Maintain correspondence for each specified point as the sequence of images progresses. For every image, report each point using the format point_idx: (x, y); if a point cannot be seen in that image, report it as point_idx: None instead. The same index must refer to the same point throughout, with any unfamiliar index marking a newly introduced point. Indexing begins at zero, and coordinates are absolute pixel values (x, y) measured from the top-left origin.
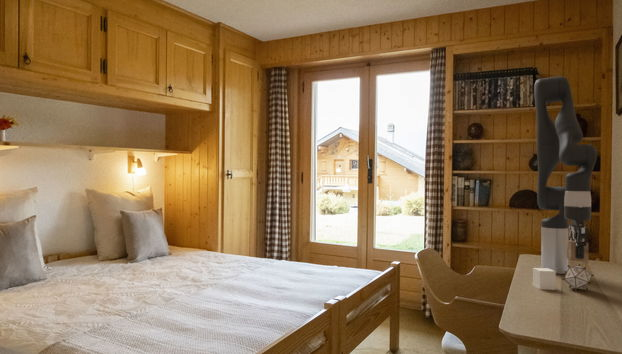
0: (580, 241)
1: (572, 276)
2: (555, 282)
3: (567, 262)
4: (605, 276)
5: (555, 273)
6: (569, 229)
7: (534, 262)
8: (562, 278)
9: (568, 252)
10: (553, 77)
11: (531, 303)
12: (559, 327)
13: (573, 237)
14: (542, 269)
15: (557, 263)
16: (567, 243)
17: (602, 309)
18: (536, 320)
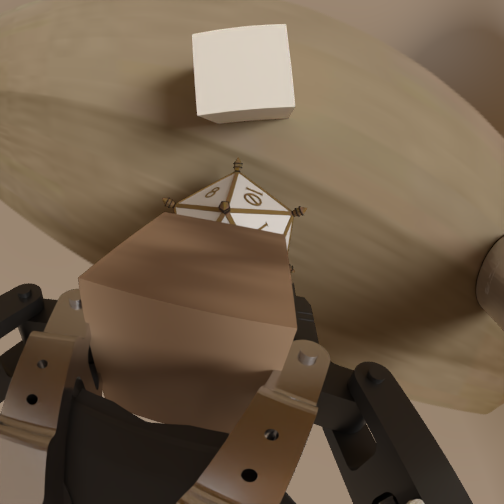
0: (177, 401)
1: (190, 198)
2: (211, 120)
3: (497, 322)
4: (424, 382)
5: (201, 116)
6: (412, 489)
7: None
8: (239, 164)
9: (219, 242)
10: None
11: (49, 32)
12: None
13: (49, 341)
14: (244, 58)
15: (502, 284)
16: (255, 294)
17: (27, 192)
18: None
